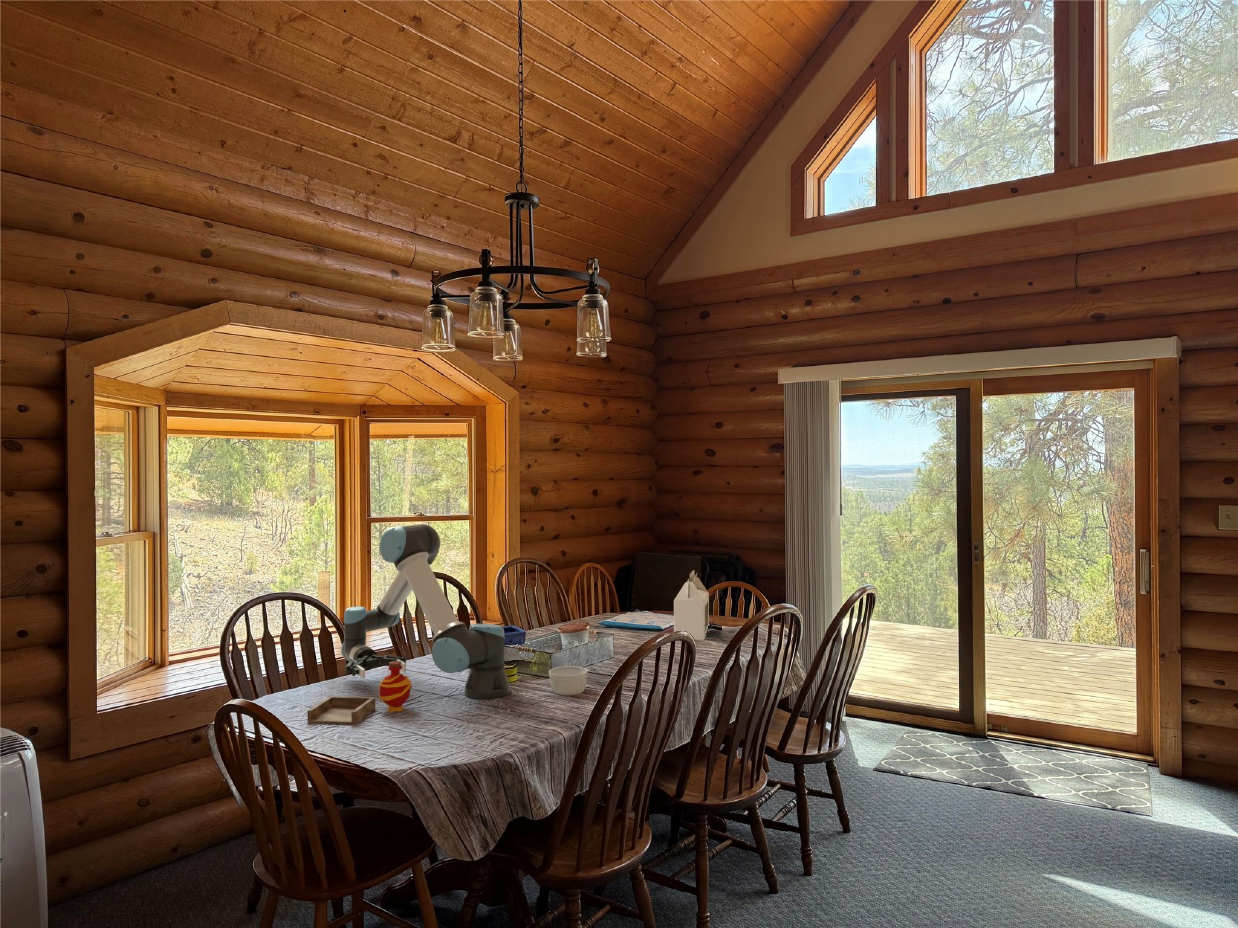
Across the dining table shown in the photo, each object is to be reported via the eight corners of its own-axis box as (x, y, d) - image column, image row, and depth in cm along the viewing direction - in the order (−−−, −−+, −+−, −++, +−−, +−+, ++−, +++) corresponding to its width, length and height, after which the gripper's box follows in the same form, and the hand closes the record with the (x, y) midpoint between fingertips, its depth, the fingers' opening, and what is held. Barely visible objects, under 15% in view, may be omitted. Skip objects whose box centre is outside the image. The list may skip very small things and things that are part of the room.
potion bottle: (403, 715, 255) (403, 667, 255) (372, 713, 257) (372, 665, 257) (418, 705, 265) (417, 659, 265) (388, 703, 267) (388, 657, 267)
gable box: (704, 640, 358) (703, 576, 357) (673, 639, 360) (673, 575, 360) (708, 629, 380) (708, 569, 379) (680, 628, 382) (680, 568, 382)
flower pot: (495, 665, 316) (495, 634, 315) (482, 658, 327) (482, 628, 327) (527, 661, 322) (527, 630, 322) (513, 654, 334) (513, 624, 334)
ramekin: (543, 695, 277) (543, 674, 277) (555, 684, 290) (555, 664, 289) (581, 697, 274) (581, 676, 274) (592, 686, 286) (591, 666, 286)
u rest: (330, 707, 263) (330, 695, 263) (375, 709, 261) (375, 697, 261) (307, 722, 248) (307, 710, 248) (355, 724, 246) (355, 711, 246)
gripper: (398, 662, 294) (421, 676, 276) (327, 673, 279) (346, 688, 262) (398, 641, 294) (421, 654, 276) (327, 651, 279) (346, 664, 262)
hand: (384, 670), depth 269 cm, fingers open, 13 cm apart
